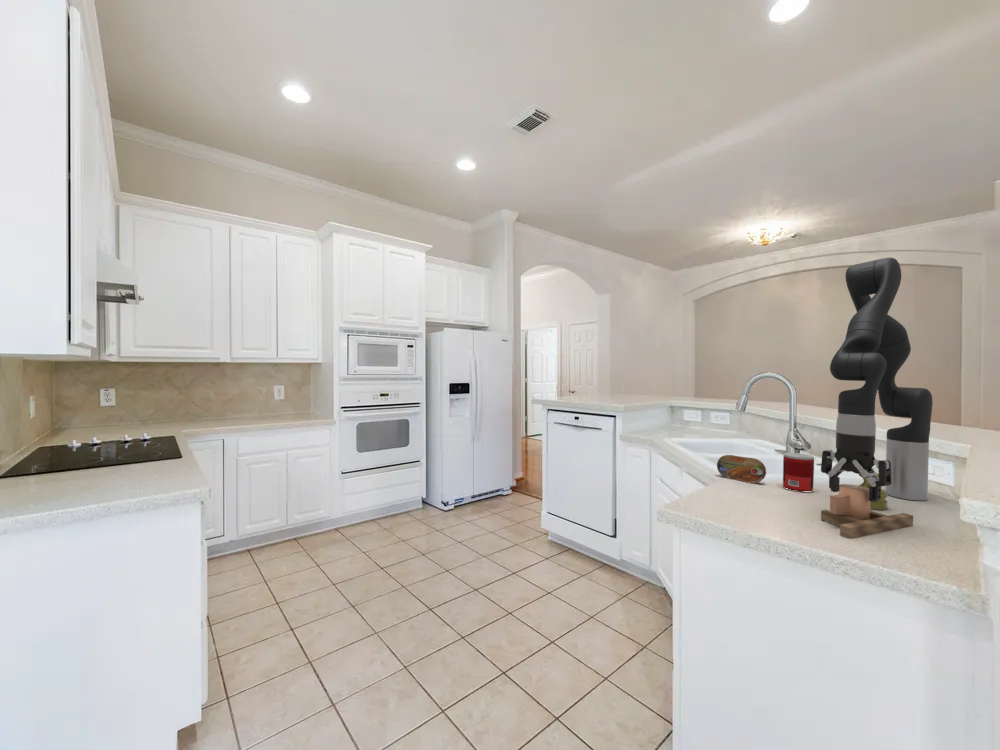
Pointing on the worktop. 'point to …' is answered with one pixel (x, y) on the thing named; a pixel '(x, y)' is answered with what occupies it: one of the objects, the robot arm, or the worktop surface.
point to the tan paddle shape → (851, 502)
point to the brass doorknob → (880, 503)
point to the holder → (867, 523)
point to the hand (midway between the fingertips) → (853, 496)
